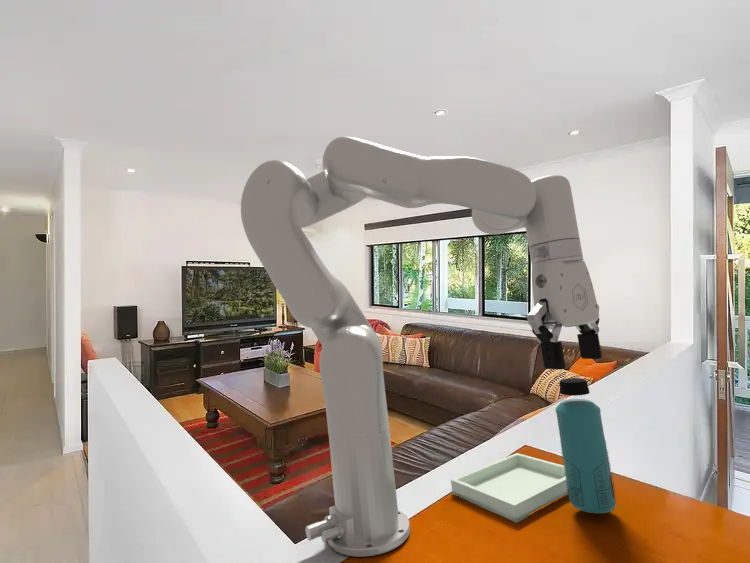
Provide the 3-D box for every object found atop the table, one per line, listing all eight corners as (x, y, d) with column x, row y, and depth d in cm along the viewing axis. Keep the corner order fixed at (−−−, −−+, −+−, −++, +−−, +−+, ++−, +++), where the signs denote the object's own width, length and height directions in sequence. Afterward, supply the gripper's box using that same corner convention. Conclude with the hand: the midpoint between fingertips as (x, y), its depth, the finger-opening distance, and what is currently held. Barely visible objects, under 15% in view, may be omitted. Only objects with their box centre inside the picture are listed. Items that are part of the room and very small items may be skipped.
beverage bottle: (626, 524, 57) (603, 380, 59) (575, 525, 58) (555, 384, 60) (609, 503, 63) (589, 374, 65) (564, 504, 65) (546, 377, 66)
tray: (516, 522, 60) (514, 505, 61) (452, 494, 72) (450, 479, 72) (585, 485, 70) (582, 470, 70) (518, 465, 82) (516, 452, 82)
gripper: (542, 251, 57) (563, 374, 55) (608, 249, 66) (627, 355, 64) (500, 261, 63) (517, 372, 61) (566, 258, 72) (582, 354, 71)
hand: (574, 363), depth 63 cm, fingers open, 9 cm apart
